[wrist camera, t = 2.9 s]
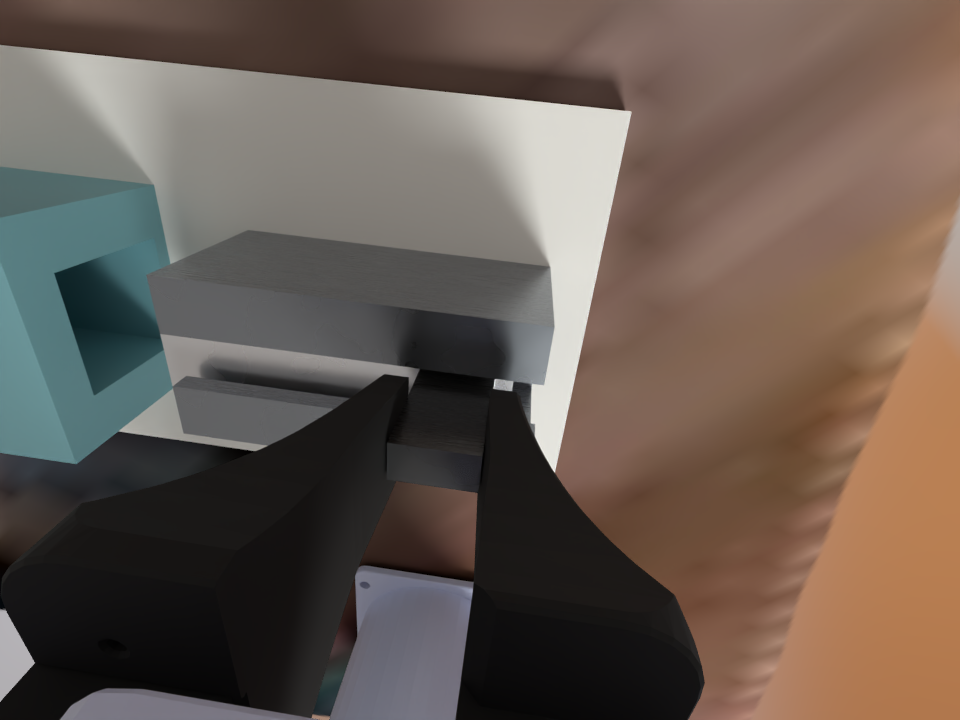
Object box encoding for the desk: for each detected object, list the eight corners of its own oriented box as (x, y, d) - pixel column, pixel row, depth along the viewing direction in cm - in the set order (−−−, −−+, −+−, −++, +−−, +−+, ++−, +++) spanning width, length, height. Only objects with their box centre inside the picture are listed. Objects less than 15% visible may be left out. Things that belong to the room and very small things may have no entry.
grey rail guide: (529, 393, 18) (526, 482, 14) (264, 357, 19) (183, 433, 14) (550, 266, 16) (554, 327, 12) (248, 229, 16) (146, 274, 12)
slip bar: (510, 382, 17) (496, 529, 11) (228, 344, 17) (72, 466, 12) (522, 300, 15) (512, 419, 10) (214, 261, 16) (28, 352, 10)
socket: (193, 372, 19) (76, 463, 14) (40, 351, 20) (-125, 433, 15) (154, 184, 16) (-15, 220, 11) (-30, 163, 16) (-272, 188, 11)
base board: (549, 477, 21) (550, 494, 20) (60, 407, 22) (40, 419, 21) (625, 111, 14) (631, 111, 14) (-77, 36, 16) (-114, 33, 15)
